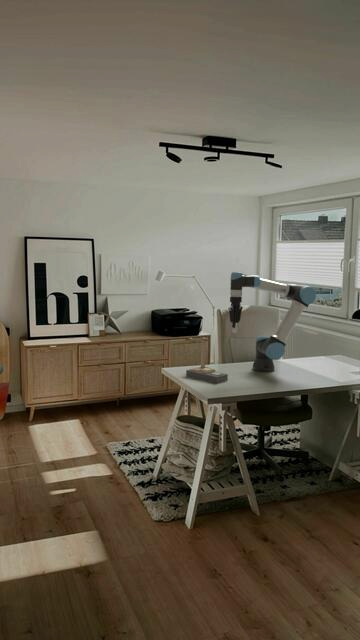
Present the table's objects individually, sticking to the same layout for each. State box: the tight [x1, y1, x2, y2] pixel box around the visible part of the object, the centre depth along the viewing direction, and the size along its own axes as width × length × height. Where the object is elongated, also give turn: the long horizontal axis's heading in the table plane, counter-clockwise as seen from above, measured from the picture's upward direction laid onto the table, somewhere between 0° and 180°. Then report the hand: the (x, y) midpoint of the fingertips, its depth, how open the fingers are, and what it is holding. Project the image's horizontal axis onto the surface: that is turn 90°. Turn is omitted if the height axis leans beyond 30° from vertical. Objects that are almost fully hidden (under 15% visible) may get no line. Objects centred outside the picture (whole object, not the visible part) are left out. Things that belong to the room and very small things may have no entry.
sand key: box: [201, 367, 213, 374], centre depth 335 cm, size 5×5×3 cm
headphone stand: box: [197, 337, 216, 372], centre depth 355 cm, size 10×11×22 cm
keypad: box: [185, 367, 229, 384], centre depth 335 cm, size 25×11×4 cm, turn 48°
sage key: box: [211, 371, 223, 376], centre depth 330 cm, size 5×5×3 cm
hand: (234, 332), depth 341 cm, fingers closed
